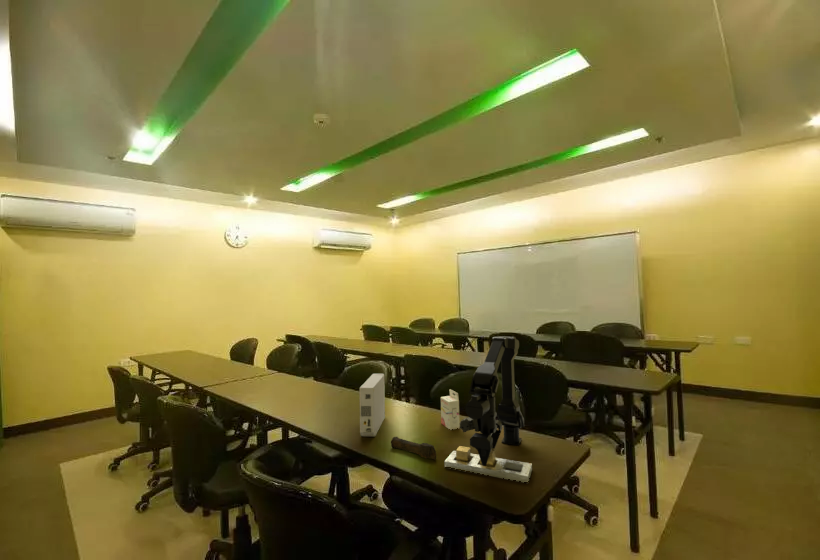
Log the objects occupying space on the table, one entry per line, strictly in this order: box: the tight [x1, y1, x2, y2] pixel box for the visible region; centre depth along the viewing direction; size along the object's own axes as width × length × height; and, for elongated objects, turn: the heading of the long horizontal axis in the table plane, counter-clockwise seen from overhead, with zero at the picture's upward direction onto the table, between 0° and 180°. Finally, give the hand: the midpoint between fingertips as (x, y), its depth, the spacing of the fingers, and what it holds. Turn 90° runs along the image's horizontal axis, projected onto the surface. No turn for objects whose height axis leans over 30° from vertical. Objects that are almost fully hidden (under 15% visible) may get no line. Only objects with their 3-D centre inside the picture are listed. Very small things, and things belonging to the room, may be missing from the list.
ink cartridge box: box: [440, 388, 460, 431], centre depth 158 cm, size 9×5×15 cm, turn 22°
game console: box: [359, 373, 386, 437], centre depth 159 cm, size 6×27×20 cm, turn 174°
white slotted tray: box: [444, 445, 533, 483], centre depth 118 cm, size 9×26×5 cm, turn 65°
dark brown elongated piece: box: [390, 436, 437, 460], centre depth 131 cm, size 19×4×5 cm, turn 50°
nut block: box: [480, 447, 496, 467], centre depth 118 cm, size 4×4×6 cm
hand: (487, 459), depth 118 cm, fingers open, 9 cm apart
